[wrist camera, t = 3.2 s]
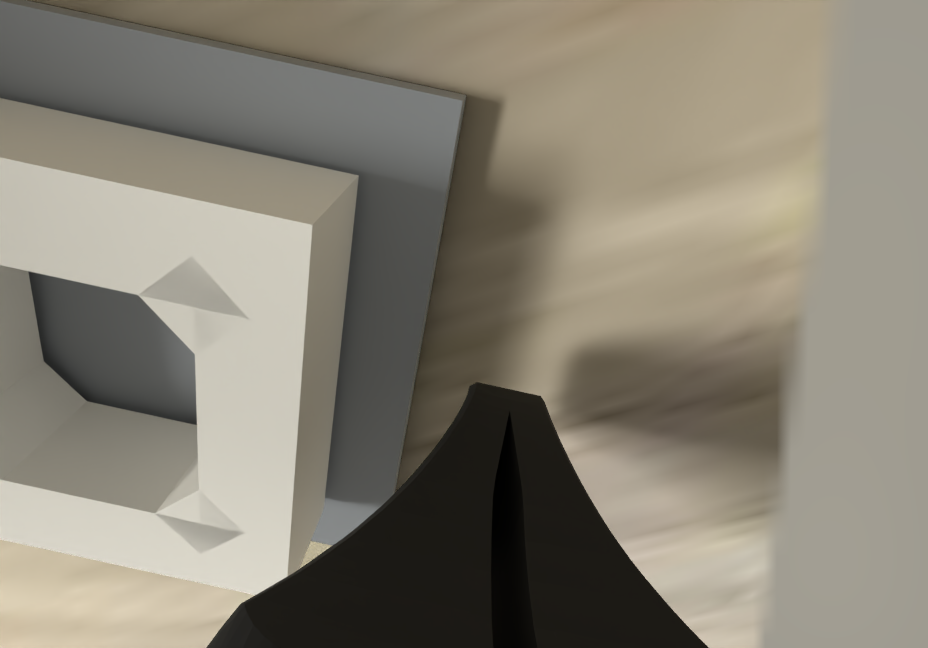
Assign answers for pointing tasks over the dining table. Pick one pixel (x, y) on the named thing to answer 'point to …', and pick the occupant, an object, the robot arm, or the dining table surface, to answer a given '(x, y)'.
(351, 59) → the dining table surface
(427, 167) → the base board
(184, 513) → the holed block
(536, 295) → the dining table surface
